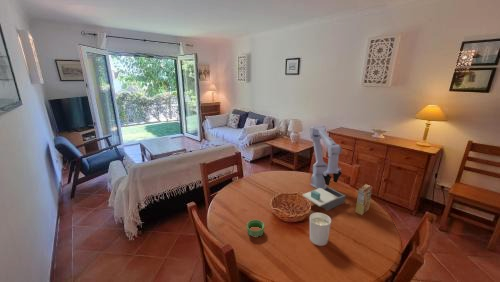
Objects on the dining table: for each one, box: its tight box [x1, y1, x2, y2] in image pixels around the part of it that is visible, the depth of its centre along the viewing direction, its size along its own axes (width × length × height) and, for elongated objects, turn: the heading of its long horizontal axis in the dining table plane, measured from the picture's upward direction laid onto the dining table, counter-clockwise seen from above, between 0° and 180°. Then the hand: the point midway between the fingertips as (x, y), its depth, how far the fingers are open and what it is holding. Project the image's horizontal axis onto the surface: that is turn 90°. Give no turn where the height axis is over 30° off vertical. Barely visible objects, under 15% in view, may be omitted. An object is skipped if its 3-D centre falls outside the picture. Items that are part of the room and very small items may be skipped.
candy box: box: [355, 183, 373, 216], centre depth 124 cm, size 9×4×15 cm, turn 129°
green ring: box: [246, 219, 265, 238], centre depth 110 cm, size 9×9×4 cm
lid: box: [301, 188, 338, 208], centre depth 131 cm, size 14×16×4 cm
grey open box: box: [320, 186, 346, 212], centre depth 136 cm, size 14×16×5 cm
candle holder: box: [309, 212, 332, 247], centre depth 103 cm, size 10×10×12 cm
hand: (331, 183), depth 138 cm, fingers open, 7 cm apart
